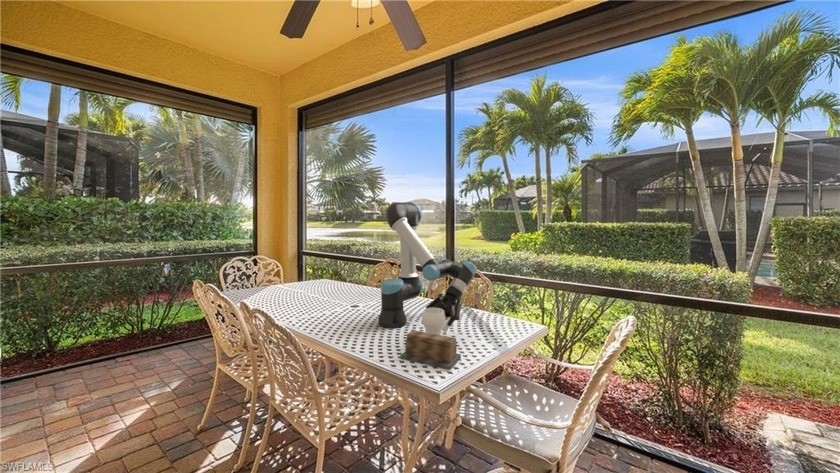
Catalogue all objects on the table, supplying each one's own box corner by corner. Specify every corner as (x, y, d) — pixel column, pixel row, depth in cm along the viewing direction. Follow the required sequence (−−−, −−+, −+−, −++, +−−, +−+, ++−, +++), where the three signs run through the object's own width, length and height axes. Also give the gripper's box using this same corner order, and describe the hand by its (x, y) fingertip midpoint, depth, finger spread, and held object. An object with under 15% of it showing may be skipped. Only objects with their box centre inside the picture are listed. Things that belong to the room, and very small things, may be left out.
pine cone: (429, 311, 209) (430, 294, 208) (459, 312, 207) (460, 296, 206) (427, 316, 199) (427, 299, 198) (459, 318, 196) (459, 301, 195)
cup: (443, 347, 156) (443, 314, 155) (420, 345, 158) (420, 313, 157) (446, 338, 167) (446, 307, 165) (424, 336, 169) (424, 306, 167)
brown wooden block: (400, 358, 145) (400, 336, 144) (414, 347, 156) (414, 327, 155) (450, 369, 135) (450, 346, 134) (460, 357, 146) (461, 335, 145)
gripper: (479, 299, 162) (456, 339, 153) (441, 289, 180) (419, 324, 172) (472, 290, 158) (448, 330, 149) (434, 280, 177) (411, 316, 168)
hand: (433, 327), depth 161 cm, fingers open, 13 cm apart
